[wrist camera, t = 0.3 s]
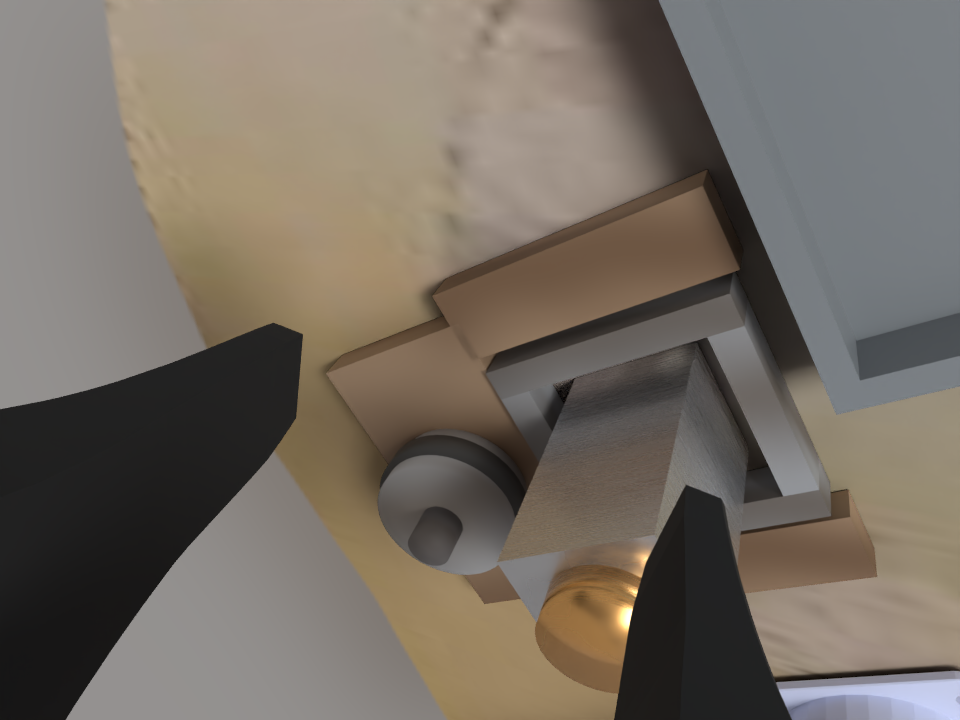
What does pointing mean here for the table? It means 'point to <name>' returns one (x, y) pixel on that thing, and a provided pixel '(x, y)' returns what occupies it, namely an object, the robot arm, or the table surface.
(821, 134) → the tray
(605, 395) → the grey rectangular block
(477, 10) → the table surface
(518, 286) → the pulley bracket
